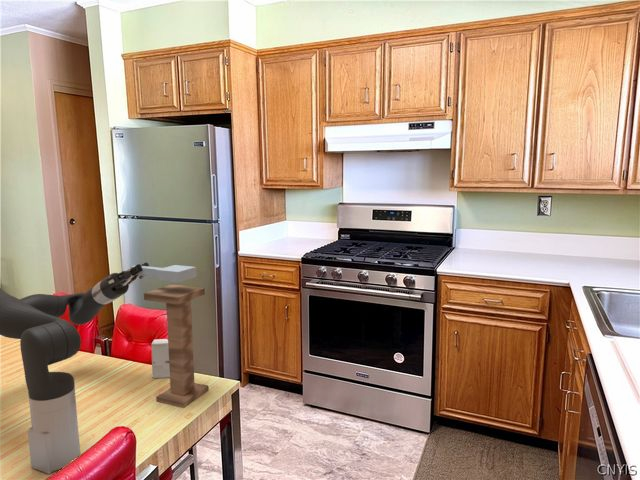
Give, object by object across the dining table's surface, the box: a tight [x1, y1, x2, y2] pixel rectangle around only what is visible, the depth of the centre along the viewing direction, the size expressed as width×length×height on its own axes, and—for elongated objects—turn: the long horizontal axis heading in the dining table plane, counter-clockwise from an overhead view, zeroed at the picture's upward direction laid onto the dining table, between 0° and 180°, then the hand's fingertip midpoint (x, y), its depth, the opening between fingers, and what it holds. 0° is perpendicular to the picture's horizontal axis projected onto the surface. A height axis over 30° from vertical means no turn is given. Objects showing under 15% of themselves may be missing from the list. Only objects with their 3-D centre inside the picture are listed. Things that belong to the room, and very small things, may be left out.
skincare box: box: [151, 338, 170, 379], centre depth 152 cm, size 6×4×12 cm
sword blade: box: [129, 264, 197, 283], centre depth 136 cm, size 8×21×3 cm, turn 67°
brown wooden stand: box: [143, 283, 209, 409], centre depth 136 cm, size 12×12×33 cm
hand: (144, 266), depth 138 cm, fingers closed on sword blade, 2 cm apart
